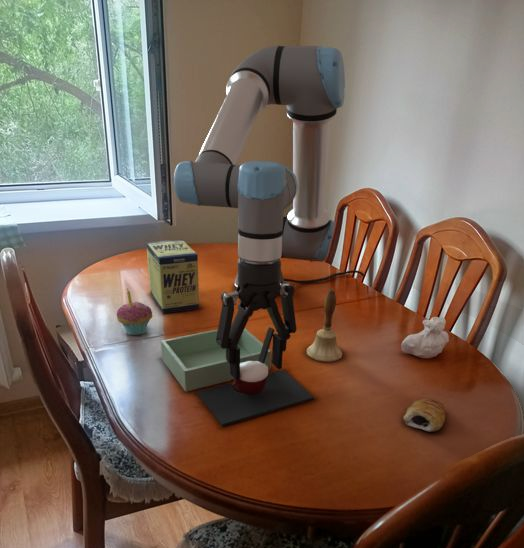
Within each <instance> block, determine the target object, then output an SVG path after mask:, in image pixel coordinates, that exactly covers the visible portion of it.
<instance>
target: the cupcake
mask: <svg viewBox="0 0 524 548" xmlns="http://www.w3.org/2000/svg"><path fill="white" fill-rule="evenodd" d="M126 290H127V291H126V295H127V299H128V303H125V304H123V305H122V306H120V307H119V308H118V309H117V311H116V320H117V321H118V322H119V323H121V324H122V326H123V327H124V330H125V332H126V333H127V334H128V335H130V336H131V335H132V336H139V335H142V334H144V333H146V331H147V328H148V324H149V322H150V320H151V319H152V318H153V311H152V309H151V307H150V306H149V305H146V304H145V303H141V302H138V301H134V302H133V301H132V296H131V291H130V290H129V288H126Z"/></svg>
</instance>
